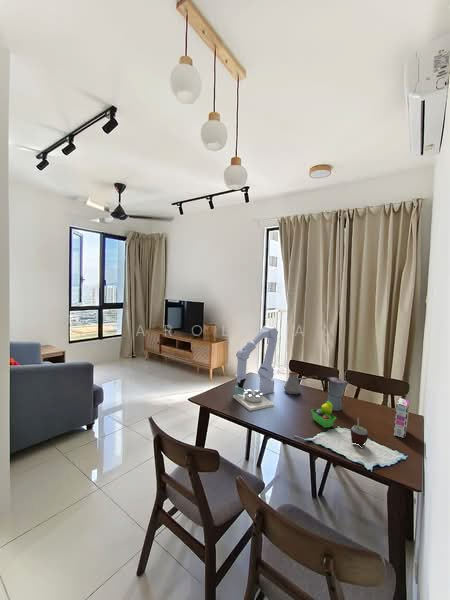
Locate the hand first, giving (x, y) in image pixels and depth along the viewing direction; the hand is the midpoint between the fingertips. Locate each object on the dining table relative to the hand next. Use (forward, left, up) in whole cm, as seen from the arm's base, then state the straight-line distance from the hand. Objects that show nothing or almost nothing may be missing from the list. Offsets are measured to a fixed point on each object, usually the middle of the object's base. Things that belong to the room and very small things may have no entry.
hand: (240, 390), depth 167 cm
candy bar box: (-55, +67, -4) cm, 87 cm away
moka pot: (-45, +34, -4) cm, 56 cm away
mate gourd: (-24, +66, -4) cm, 70 cm away
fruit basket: (-25, +45, -5) cm, 51 cm away
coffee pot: (-40, +11, -4) cm, 42 cm away
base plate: (-4, +10, -4) cm, 11 cm away
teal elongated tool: (-2, +6, -2) cm, 7 cm away
